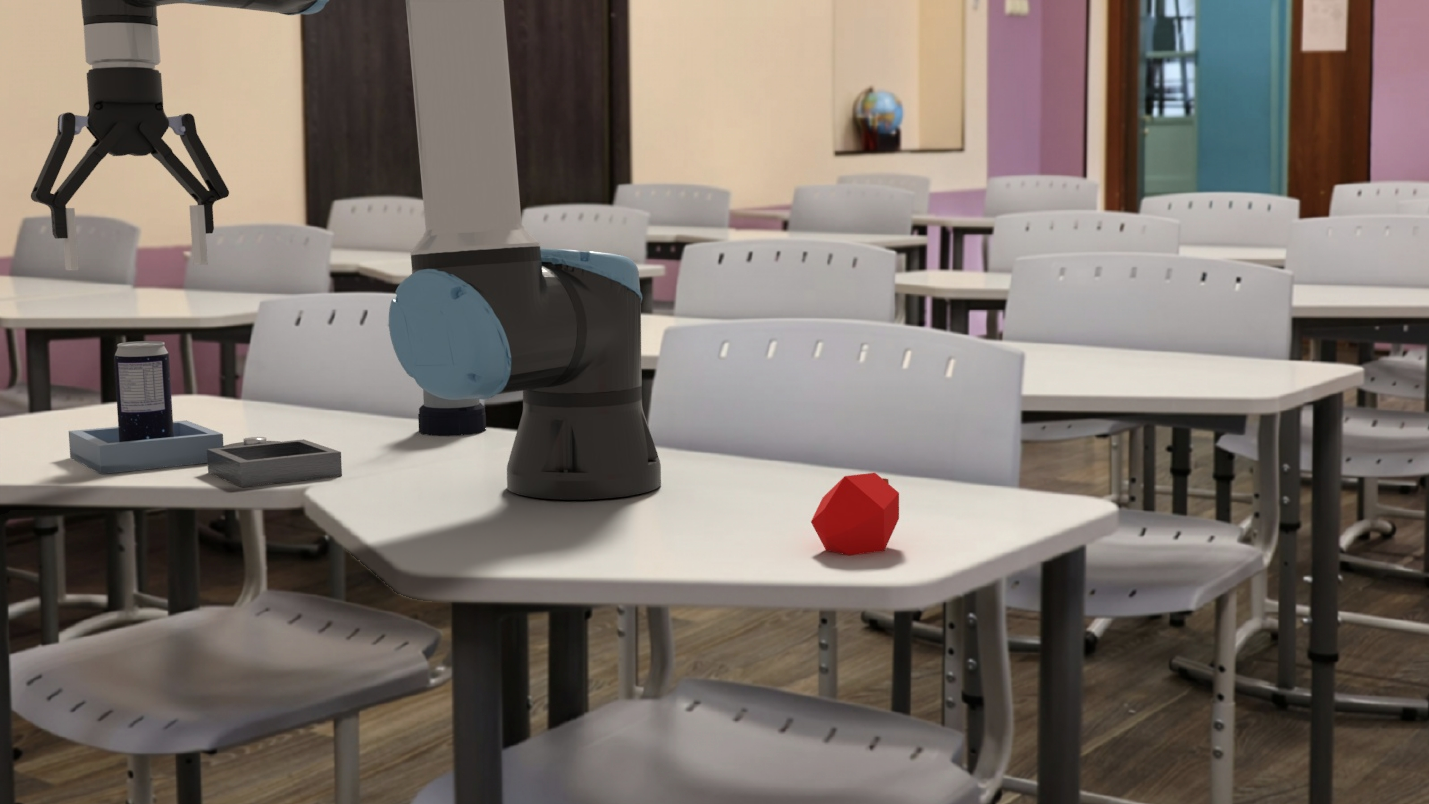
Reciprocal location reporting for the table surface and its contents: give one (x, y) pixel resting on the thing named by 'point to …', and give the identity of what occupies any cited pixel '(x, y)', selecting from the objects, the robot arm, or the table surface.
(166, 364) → the beverage can
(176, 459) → the tray
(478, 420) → the humidifier
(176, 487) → the table surface
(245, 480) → the grey flat rectangular frame
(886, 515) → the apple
